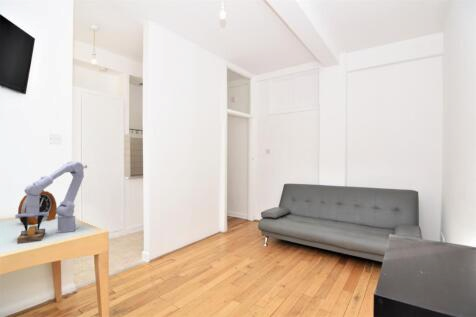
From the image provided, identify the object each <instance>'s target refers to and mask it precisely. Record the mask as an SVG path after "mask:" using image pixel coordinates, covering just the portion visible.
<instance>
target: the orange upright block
mask: <svg viewBox="0 0 476 317" xmlns="http://www.w3.org/2000/svg"><path fill="white" fill-rule="evenodd" d="M36 229H37V225H31V226H29V227H28V235H37V233H35V230H36Z"/></svg>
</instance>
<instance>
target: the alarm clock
mask: <svg viewBox="0 0 476 317" xmlns="http://www.w3.org/2000/svg"><path fill="white" fill-rule="evenodd" d="M39 197H40V198H39V212H49V216H44V217H43V219H42V221H41V223H43V222H46V221H47V222H50V221H53V220H55V218H56V215H57V213H56V209H57V207H58V206H57V201H56V198H55V196H54V195H53V194H52V193H51V192H50V191H48V190H47V191H45V189H43V190H42V192H41V193H40V195H39ZM26 198H27V194H25V195H24V196H23V197H22V199H21V200H20V202H19V205H18V210H17V214H24V213H26ZM37 218H38V216H37V217H28V223H27V224H28V225H32V226H37V225H38V220H37ZM18 219H19V221H20V222H21V223H22V221H21V220H20V219H21V218H18Z"/></svg>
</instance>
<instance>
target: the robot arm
mask: <svg viewBox="0 0 476 317" xmlns="http://www.w3.org/2000/svg"><path fill="white" fill-rule="evenodd" d="M84 169H85V166H84V164H82V163H81V162H79V161H74V162H73V161H68V162H66V163H64V164H63V165H62V166H60V167H59V168H58V169H57V170H55V171H54V172H52V173H51V174H50V175H44V176H40V178H39V179H38V180H36V181H33V182H32V184H28V185H27V186H26V187H25V189H24V193H25V195H27V198H26V213H24V214H18V213H17V214H15V219H19V218H21V219H19V221H20V220H21V221H22V222H21V221H20V222H21V224H22V225H23V227H24V231H26V230H28V229H29V227H28V225H29V223H28V217H37V216H38V218H37V220H38V224H36V226H37V229H40V227H41V224H42V222H41V221H42V219H43V217H44V216H49V212H39V198H40V197H39V195H40V193H41V192H42V190H45V189H46V188H47V187H49V186H50V185H52V184H53V182H54V180H56V179H57V178H60V177H61V176H62V175H65V173H70V175H71V176H72V180H71V182H70V184H69V187H68V189H67V192H66V194H65V196H64V199H63V201H61V202H60V203H59V205H58V206H57V209H56V215H57V229H56V232H55V233H56V234H58V233H66V232H67V233H68V232H75V231H76V227H77V225H76V215H74V212H75V206H76V205H75V204H74V203H75V200H76V197H77V195H78V192H79V190H80V187H81V184H82V182H83V180H84ZM72 215H73V216H72ZM27 223H28V224H27Z"/></svg>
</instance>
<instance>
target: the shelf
mask: <svg viewBox="0 0 476 317" xmlns="http://www.w3.org/2000/svg"><path fill="white" fill-rule="evenodd" d="M35 233H37V235H28V230H26V231H25V230H21V231H20V235H19V236H17V240H16V242H17V245H19V244H25V243H34V242H41V241H42V240H43V238H44V236H45V234H46V228H39V229H36V230H35Z"/></svg>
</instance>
